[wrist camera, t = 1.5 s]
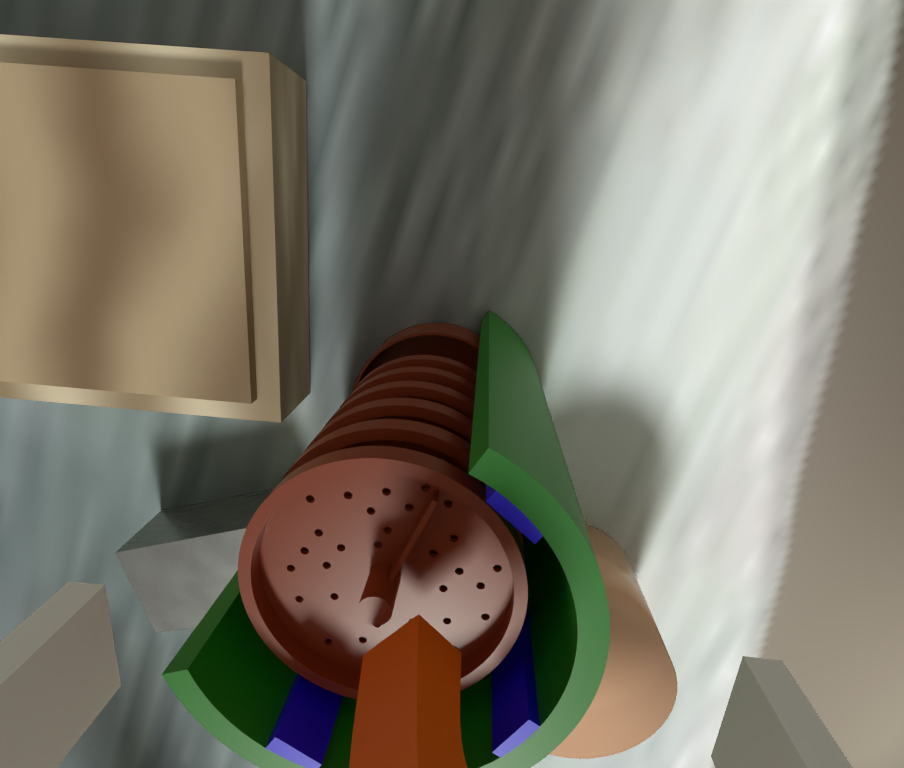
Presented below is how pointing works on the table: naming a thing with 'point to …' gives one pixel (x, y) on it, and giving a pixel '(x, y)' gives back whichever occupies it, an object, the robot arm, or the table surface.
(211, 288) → the plinth
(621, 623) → the tan rounded cylinder
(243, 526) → the grey stone block
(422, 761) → the motor
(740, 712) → the robot arm
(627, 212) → the table surface
